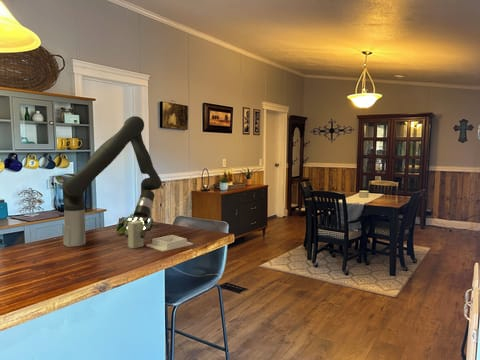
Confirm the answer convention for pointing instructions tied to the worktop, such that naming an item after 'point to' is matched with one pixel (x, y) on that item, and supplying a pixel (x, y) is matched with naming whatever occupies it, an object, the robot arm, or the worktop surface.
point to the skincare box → (135, 234)
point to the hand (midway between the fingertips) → (134, 237)
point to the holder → (168, 243)
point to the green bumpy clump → (121, 225)
